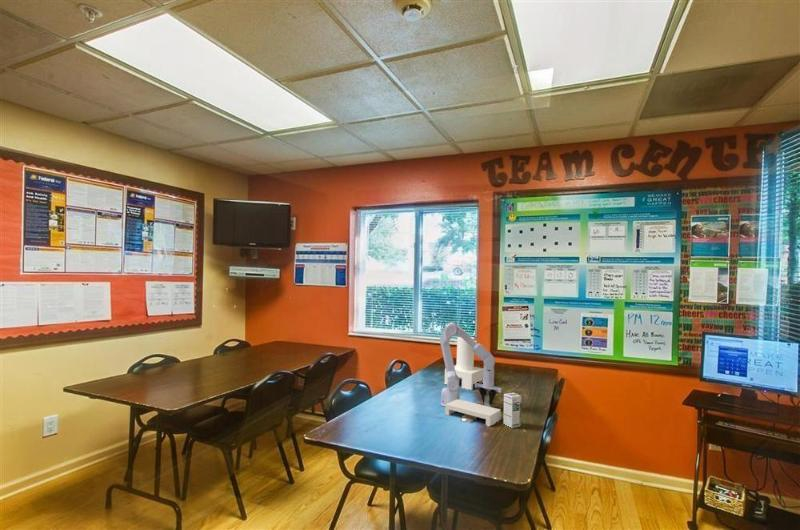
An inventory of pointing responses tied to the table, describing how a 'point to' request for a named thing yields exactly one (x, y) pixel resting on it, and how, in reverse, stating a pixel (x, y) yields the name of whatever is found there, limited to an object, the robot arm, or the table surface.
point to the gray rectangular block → (486, 403)
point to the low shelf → (474, 410)
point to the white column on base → (466, 365)
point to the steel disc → (466, 419)
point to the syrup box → (512, 410)
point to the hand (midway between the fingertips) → (487, 403)
